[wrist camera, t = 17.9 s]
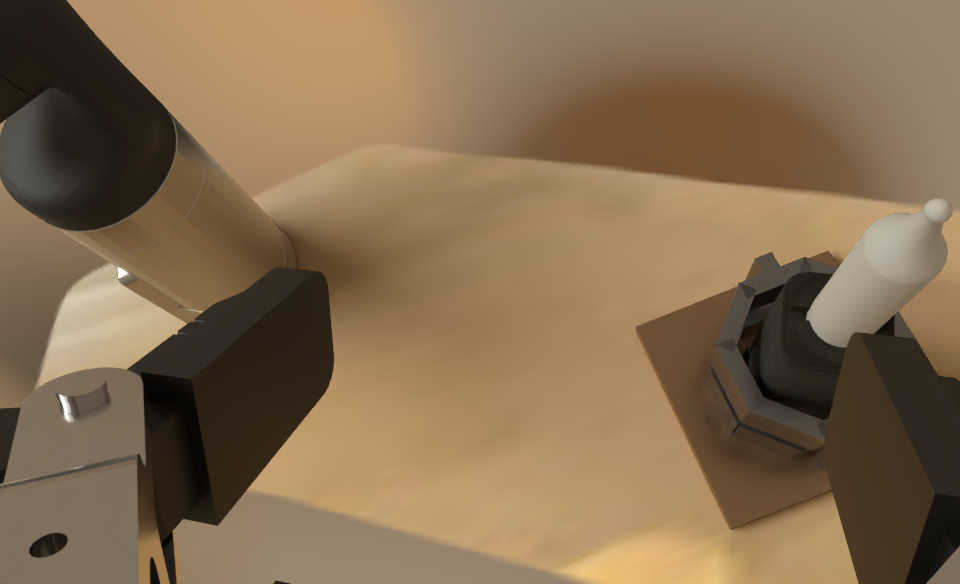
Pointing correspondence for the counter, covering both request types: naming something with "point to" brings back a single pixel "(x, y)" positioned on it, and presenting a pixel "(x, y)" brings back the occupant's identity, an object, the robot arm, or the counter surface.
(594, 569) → the counter surface
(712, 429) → the collar stand
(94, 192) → the robot arm
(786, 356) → the bottle
